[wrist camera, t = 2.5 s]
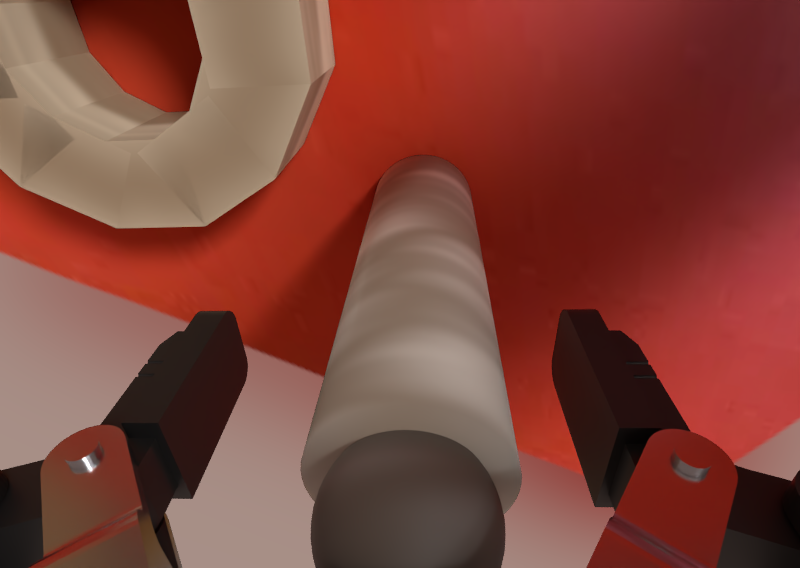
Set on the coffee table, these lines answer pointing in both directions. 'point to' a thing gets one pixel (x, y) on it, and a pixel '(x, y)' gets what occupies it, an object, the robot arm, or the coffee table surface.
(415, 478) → the grey tipped beige rod
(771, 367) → the coffee table surface
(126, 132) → the bead
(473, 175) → the coffee table surface
